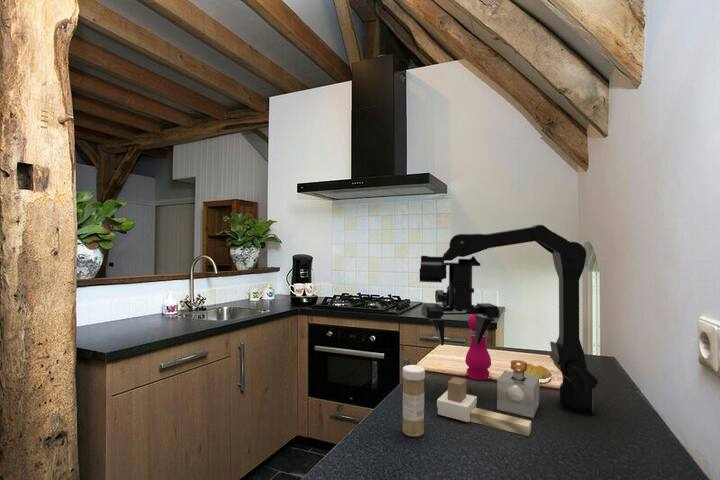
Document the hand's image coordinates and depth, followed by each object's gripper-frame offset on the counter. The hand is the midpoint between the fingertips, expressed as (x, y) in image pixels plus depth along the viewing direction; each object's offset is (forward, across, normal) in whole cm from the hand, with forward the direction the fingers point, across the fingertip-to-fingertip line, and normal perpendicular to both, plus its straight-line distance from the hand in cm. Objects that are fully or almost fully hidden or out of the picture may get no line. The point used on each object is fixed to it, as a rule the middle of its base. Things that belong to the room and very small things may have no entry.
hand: (459, 344), depth 100 cm
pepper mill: (+14, -11, -14) cm, 22 cm away
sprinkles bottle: (+14, +16, +17) cm, 27 cm away
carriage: (+13, +4, +10) cm, 17 cm away
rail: (+13, 0, +14) cm, 19 cm away
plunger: (+8, -12, +7) cm, 16 cm away
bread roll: (+14, -27, -11) cm, 32 cm away
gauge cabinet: (+13, -12, +7) cm, 19 cm away
